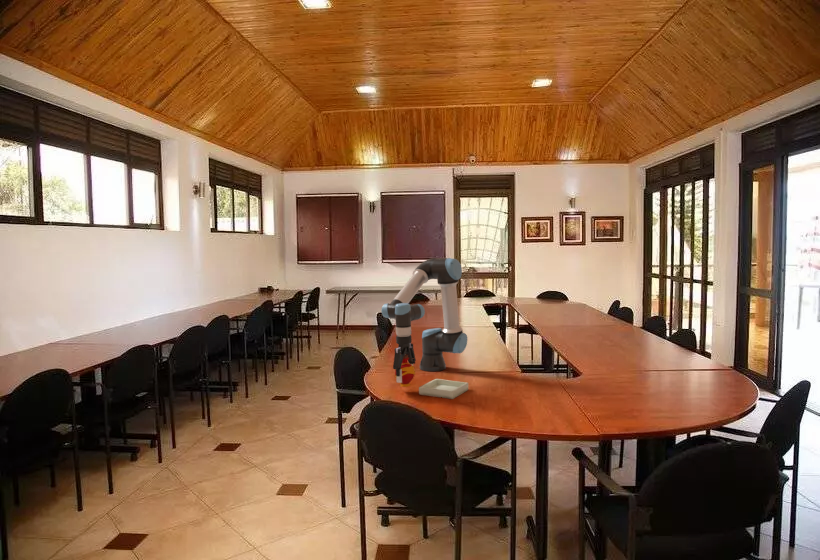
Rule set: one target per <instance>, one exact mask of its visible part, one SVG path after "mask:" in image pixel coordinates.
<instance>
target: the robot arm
mask: <svg viewBox="0 0 820 560" xmlns="http://www.w3.org/2000/svg"><path fill="white" fill-rule="evenodd" d="M462 274H463V269H462V265H461V263H460V261H459V260H458V259H456V258H452V257H451V258H450V257H442V258H441V257H440V258H439V257H437V258H436V257H433V258H429V259H426V260H424V261H423V262H421V263H420V264H419V265H418V266H417V267H415V269H414V270H413V271H412V275H411V276H410V278H409V279H408V280H407V282H406V283H405V284H404V285H403V287H402V288H400V291H399V292H398V293H397V294H396V295H395V296H394V298H393V299H392V300H391V302H390V303H388V302H387V303H383V305H382V307H381V309H380V311H381V314H382V317H383V318H386V319H390V320H391V319H394V320H395V334H396V336H395V341H396V342H395V343H396V345H397V344H398V347H395V348H394V356H393V357H394V358H393V365H392V369H393V370H395V369H396V377H395V379H396V383H400V384H401V383H402V369H401V365H402V361H403V357H404V356H405V355H408V358H409V359H408V360H407V363H409V364H411V365H413V366H414V365H415V364H416V361H417V360H416V354H415V350H414V343H412V341H413V339H412V322H413V321H418V320H420V319H422V318H423V317H424V316H425V313H426V310H425V306H423V305H422V304H419V303H417V304H416V303H415V304H410V302H411V301H412V299H413V298H414V296H416V294H417V293H418V291H419V290H420V289H421V288H422V286H424V284H426V283H428V281H429V280H437V284H438V285H439V286H440V294H441V296H440V297H441V305H442V315H443V328H441V327H435V328H427V329H425V330H423V331H422V335H421V345H422V346H421V347H422V357H421V360H420V363H419V370H421V371H425V372H440V371H445V370H446V368H447V367H446V366H447V365H446V361H445V359H444V354H443V353H450V354H451V353H452V354H461V353H463V352H465V350H466V347H467V345H468V335H467V334H466V333H465V332H464V331H463V330H464V329H463V328H462V327H461V326H460V317H459V315H460V314H459V307H458V306H459V304H458V289H457V284H458V283H459V282H460V281H459V280H460V279H461V277H462V276H463V275H462Z"/></svg>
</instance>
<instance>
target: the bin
mask: <svg viewBox="0 0 820 560" xmlns="http://www.w3.org/2000/svg"><path fill="white" fill-rule="evenodd" d="M467 391H469V382H464V381H459V380H451V379H450V380H448V379H442V378H435V379H433V380H430V381H428V382H426V383H425V384H422V385H420V386H419V387H418V395H421V396H429V397H434V398H435V397H437V398H441V397H442V398H443V399H448V400H449V399H450V400H455V398H457V397H459V396H460V395H462V394H464V393H465V392H467Z"/></svg>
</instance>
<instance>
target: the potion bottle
mask: <svg viewBox="0 0 820 560" xmlns="http://www.w3.org/2000/svg"><path fill="white" fill-rule="evenodd" d="M408 359H409V358H408V355H405V356H404V357H403V361H402V365H401V369H402V383H400V385H399V387H403V388H408V387H411V382H412V381H413V380H414V378H415V375H416V370H415V366H414V364H413V365H411V364H410V363H409V362H408ZM394 377H395V378H396V369H394Z"/></svg>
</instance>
